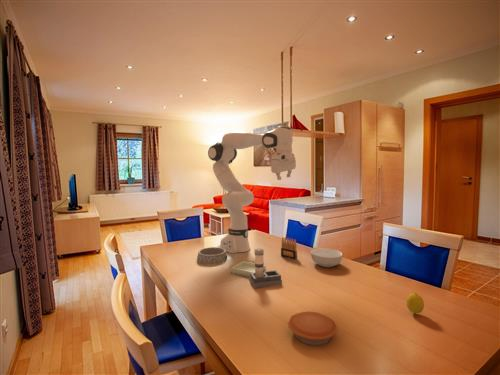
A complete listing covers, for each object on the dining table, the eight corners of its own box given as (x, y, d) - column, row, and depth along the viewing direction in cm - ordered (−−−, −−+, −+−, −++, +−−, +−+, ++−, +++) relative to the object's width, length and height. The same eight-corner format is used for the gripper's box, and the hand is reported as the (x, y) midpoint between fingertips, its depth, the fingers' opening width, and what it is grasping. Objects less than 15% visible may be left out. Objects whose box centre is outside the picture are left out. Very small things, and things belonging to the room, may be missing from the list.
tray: (230, 273, 145) (230, 267, 145) (242, 265, 156) (242, 260, 155) (254, 278, 138) (254, 272, 138) (265, 270, 149) (265, 265, 148)
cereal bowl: (344, 271, 145) (344, 258, 145) (311, 269, 149) (311, 256, 148) (340, 260, 162) (340, 248, 161) (310, 259, 165) (310, 247, 165)
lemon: (407, 308, 107) (408, 288, 107) (424, 313, 104) (425, 292, 103) (404, 314, 103) (405, 293, 102) (422, 319, 99) (423, 297, 99)
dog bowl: (229, 255, 176) (228, 246, 175) (223, 265, 158) (223, 256, 157) (202, 254, 178) (202, 246, 177) (193, 264, 159) (193, 255, 159)
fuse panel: (254, 288, 127) (254, 279, 127) (249, 280, 136) (249, 272, 135) (281, 284, 130) (281, 276, 130) (275, 277, 139) (275, 269, 139)
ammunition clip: (297, 258, 166) (297, 238, 165) (295, 259, 164) (295, 239, 163) (282, 255, 173) (282, 236, 172) (280, 255, 172) (280, 236, 171)
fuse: (253, 279, 131) (252, 250, 130) (257, 276, 135) (257, 248, 134) (261, 281, 129) (260, 251, 128) (265, 278, 133) (265, 249, 132)
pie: (328, 320, 100) (328, 307, 100) (344, 349, 85) (344, 333, 84) (284, 322, 100) (284, 308, 99) (293, 351, 84) (292, 335, 84)
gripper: (289, 152, 171) (289, 175, 174) (269, 156, 156) (269, 180, 159) (298, 153, 167) (298, 176, 170) (278, 157, 152) (278, 182, 155)
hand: (283, 178), depth 165 cm, fingers open, 8 cm apart
